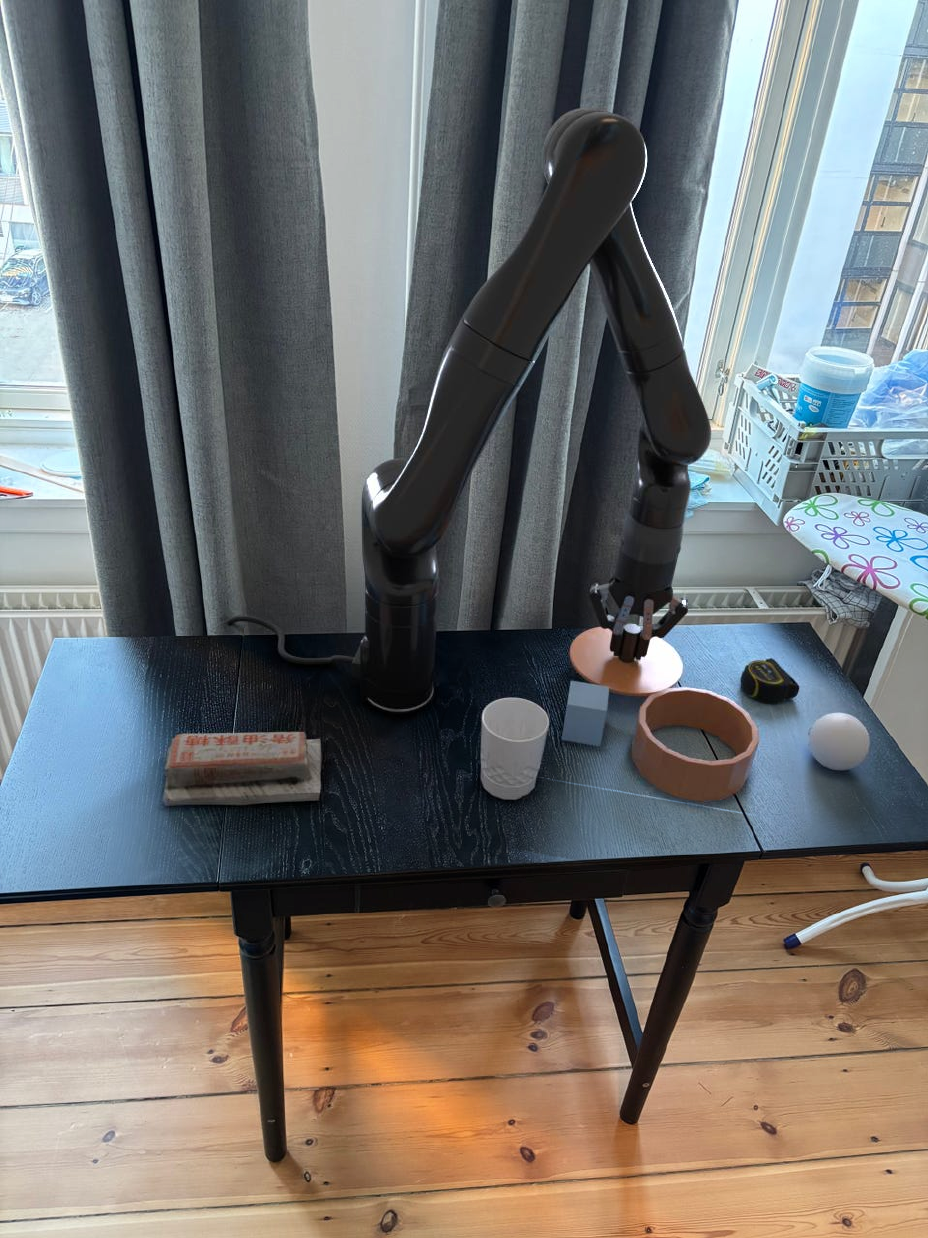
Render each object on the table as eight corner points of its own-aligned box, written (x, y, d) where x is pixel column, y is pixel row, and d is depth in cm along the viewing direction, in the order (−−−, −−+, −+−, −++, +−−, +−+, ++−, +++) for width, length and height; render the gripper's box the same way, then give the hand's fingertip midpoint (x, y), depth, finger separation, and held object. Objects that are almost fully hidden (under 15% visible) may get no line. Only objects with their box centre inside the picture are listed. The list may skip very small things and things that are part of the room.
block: (561, 743, 124) (567, 704, 120) (564, 718, 128) (570, 680, 124) (599, 749, 123) (607, 710, 120) (602, 724, 127) (609, 686, 124)
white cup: (495, 812, 113) (502, 748, 107) (464, 769, 119) (470, 707, 113) (552, 792, 116) (561, 730, 111) (519, 752, 122) (527, 690, 116)
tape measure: (797, 704, 133) (804, 683, 131) (754, 711, 132) (761, 690, 129) (770, 675, 139) (776, 654, 137) (728, 681, 137) (734, 660, 135)
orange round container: (628, 792, 117) (637, 753, 113) (633, 717, 129) (641, 679, 125) (749, 813, 115) (762, 774, 112) (743, 735, 127) (754, 697, 124)
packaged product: (157, 778, 107) (169, 720, 116) (162, 809, 110) (174, 750, 118) (320, 772, 110) (320, 716, 118) (321, 803, 112) (321, 745, 121)
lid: (563, 688, 128) (569, 651, 125) (574, 624, 141) (580, 589, 137) (681, 709, 126) (691, 672, 123) (681, 642, 139) (690, 607, 136)
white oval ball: (870, 782, 121) (888, 739, 117) (814, 783, 121) (830, 739, 116) (839, 730, 129) (855, 687, 125) (786, 730, 129) (800, 687, 125)
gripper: (704, 541, 125) (677, 648, 135) (598, 524, 127) (579, 631, 137) (705, 570, 119) (677, 679, 129) (593, 552, 121) (574, 661, 130)
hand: (626, 654), depth 133 cm, fingers closed on lid, 2 cm apart
